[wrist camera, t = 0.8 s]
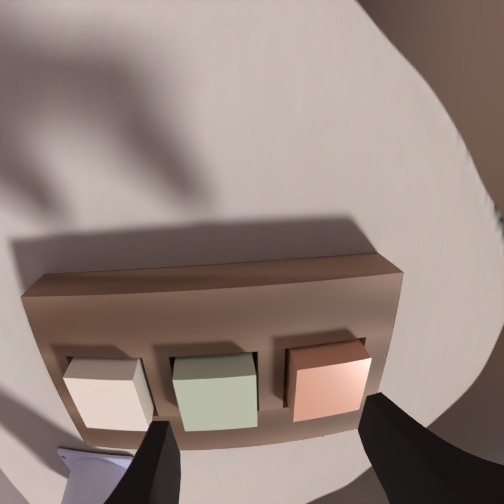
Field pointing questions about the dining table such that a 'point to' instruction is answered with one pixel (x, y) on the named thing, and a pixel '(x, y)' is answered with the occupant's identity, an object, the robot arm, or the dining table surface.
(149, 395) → the cream button
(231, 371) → the sage button
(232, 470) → the dining table surface
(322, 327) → the button panel
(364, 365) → the terracotta button
